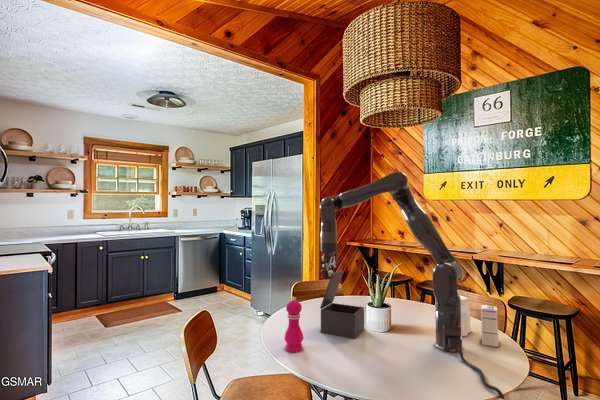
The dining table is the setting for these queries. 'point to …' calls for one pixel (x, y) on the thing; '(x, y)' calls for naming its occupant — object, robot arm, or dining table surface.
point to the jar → (465, 317)
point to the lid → (331, 287)
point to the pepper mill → (293, 327)
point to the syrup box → (489, 325)
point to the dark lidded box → (342, 320)
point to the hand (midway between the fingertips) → (329, 277)
